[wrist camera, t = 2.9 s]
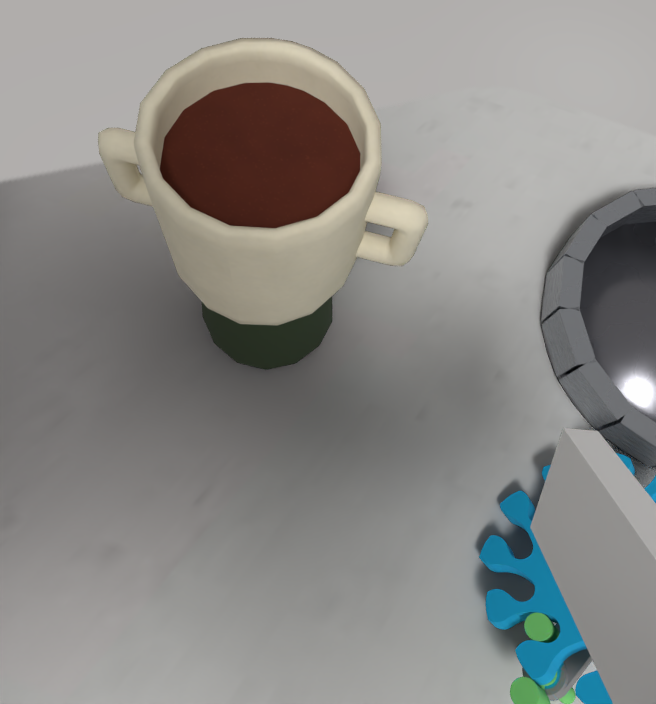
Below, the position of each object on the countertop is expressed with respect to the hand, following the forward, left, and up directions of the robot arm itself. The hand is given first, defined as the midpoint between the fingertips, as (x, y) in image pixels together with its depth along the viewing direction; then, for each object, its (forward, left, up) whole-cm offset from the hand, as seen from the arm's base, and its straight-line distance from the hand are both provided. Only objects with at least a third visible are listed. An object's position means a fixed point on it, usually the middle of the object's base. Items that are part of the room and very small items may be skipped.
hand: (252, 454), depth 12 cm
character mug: (-2, +9, -14) cm, 17 cm away
